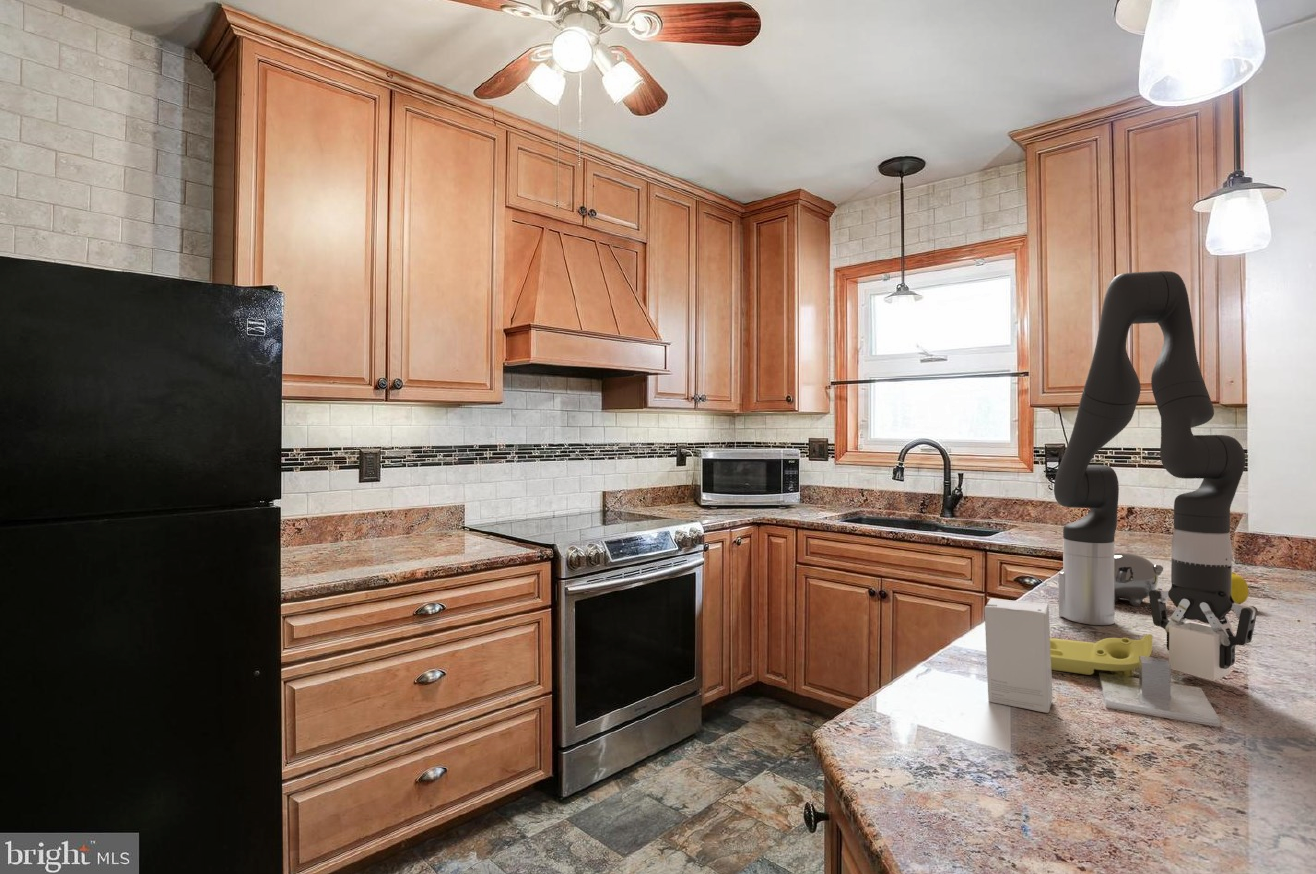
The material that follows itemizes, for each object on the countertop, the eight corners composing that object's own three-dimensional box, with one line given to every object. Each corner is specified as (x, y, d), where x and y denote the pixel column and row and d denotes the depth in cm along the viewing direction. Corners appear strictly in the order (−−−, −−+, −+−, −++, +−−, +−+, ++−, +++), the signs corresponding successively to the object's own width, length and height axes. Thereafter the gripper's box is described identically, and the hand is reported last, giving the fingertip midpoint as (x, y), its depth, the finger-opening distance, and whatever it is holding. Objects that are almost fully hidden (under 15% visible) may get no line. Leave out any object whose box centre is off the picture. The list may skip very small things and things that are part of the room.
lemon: (1215, 602, 154) (1215, 568, 154) (1246, 606, 151) (1246, 571, 151) (1217, 607, 150) (1217, 572, 150) (1250, 611, 147) (1250, 575, 147)
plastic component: (1010, 651, 115) (1019, 615, 122) (1017, 685, 117) (1027, 647, 124) (1151, 669, 102) (1153, 627, 109) (1156, 706, 104) (1158, 662, 111)
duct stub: (1105, 707, 97) (1105, 666, 97) (1099, 678, 108) (1099, 642, 108) (1220, 727, 90) (1220, 683, 90) (1200, 694, 101) (1201, 655, 101)
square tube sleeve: (1168, 668, 108) (1169, 626, 108) (1186, 661, 111) (1186, 620, 111) (1213, 680, 103) (1214, 636, 102) (1230, 673, 106) (1231, 630, 105)
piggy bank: (1090, 592, 165) (1090, 546, 165) (1165, 602, 155) (1165, 553, 155) (1081, 600, 157) (1081, 552, 157) (1160, 612, 147) (1160, 560, 147)
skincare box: (1052, 701, 99) (1052, 603, 99) (1048, 716, 94) (1048, 612, 94) (990, 689, 104) (990, 595, 104) (984, 702, 99) (984, 603, 99)
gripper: (1138, 553, 111) (1138, 652, 111) (1247, 569, 98) (1246, 680, 99) (1160, 548, 114) (1159, 644, 115) (1268, 563, 102) (1266, 671, 102)
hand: (1199, 660), depth 107 cm, fingers closed on square tube sleeve, 6 cm apart
